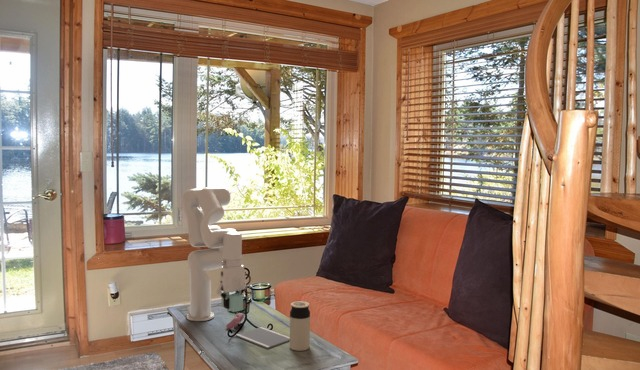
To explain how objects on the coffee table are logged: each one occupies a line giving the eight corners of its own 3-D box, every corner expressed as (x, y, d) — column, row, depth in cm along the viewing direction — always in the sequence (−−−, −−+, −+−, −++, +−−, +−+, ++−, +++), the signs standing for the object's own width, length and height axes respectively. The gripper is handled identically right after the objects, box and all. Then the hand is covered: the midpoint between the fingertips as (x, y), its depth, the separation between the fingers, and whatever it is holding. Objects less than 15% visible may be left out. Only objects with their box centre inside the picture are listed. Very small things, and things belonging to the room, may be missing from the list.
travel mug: (294, 352, 218) (295, 307, 217) (286, 345, 225) (286, 302, 224) (312, 349, 222) (313, 305, 220) (304, 342, 229) (304, 300, 227)
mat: (235, 336, 235) (235, 334, 235) (260, 328, 245) (260, 326, 245) (267, 348, 222) (267, 347, 222) (292, 339, 232) (292, 338, 232)
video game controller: (233, 333, 243) (240, 320, 242) (224, 328, 244) (231, 314, 243) (241, 326, 253) (247, 313, 252) (232, 320, 253) (239, 307, 252)
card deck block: (233, 311, 221) (233, 296, 221) (221, 306, 228) (221, 291, 228) (242, 309, 224) (243, 294, 224) (230, 304, 231) (231, 290, 231)
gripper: (219, 267, 216) (218, 313, 218) (254, 261, 227) (254, 305, 229) (209, 263, 222) (209, 308, 223) (244, 258, 233) (244, 301, 235)
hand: (232, 306), depth 226 cm, fingers closed on card deck block, 4 cm apart
